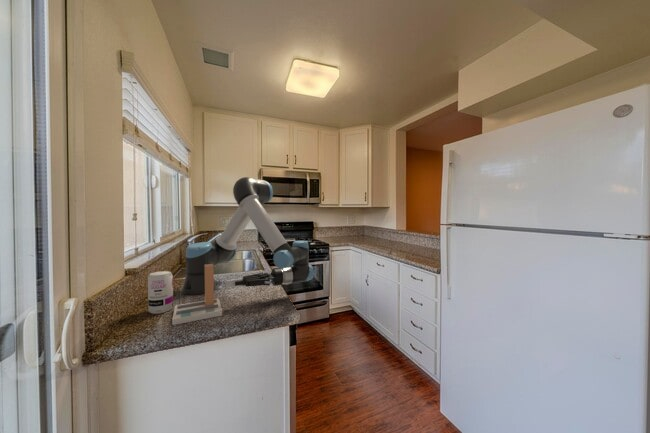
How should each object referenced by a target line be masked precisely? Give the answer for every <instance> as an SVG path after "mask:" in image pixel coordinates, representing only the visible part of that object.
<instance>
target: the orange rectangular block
mask: <svg viewBox="0 0 650 433" xmlns="http://www.w3.org/2000/svg"><path fill="white" fill-rule="evenodd" d="M214 266H215V265H214ZM214 266H213V264H207V265H205V293H204V301H205V306H210V305H214V299H215V289H214V280H215V277H214V275H215V274H214V273H215V272H214V269H215V268H214Z"/></svg>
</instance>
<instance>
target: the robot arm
mask: <svg viewBox="0 0 650 433" xmlns="http://www.w3.org/2000/svg"><path fill="white" fill-rule="evenodd" d="M232 193H233V194H232V195H233V197H234V200H235V202H236V203H237V205H238V207H237V209H236V211H235V212H234V214H233V215H232V217H231V218H230V220H229V222H228V224H227V225H226V227H225V228H224V231H223V232H222V234H221V235H218V236H216V237H215V240H214V241H213V243H212V242H210V241H202V242H195V243H191V244H190V245H188V246H186V248H185V278H184V281H183V283H182V287H181V293H182V294H184V295H188V296H189V295H190V296H194V295H202V294H205V265H207V264H213V266H218V265H221V264H222V265H223V264H225V263H229V262H230V261H232V260H234V258H236V255H237V254H238V251H237V250H238V249H237V247H238V245H237V243H238V240H239V239H240V237H241V235H242V233H243V232H244V231H245V229H246V227H247V226H248V224H249V222H252V223H253V225H254V227H255V228H256V229H257V231H258V232H259V234H260V235H261V237H262V238H263V240H264V241H265V244H267V246H268V248H269V249H270V250H271V252H272V253H273V257H272V258H273V259H272V260H273V263H274V265H275V266H276V267H277V268H272V269H271V272H270V273H269V272H264V273H263V272H259V273H254V274H249V275H245V276H242V277H241V278H234V279H226V280H225V287H226V289H228V288H233V287H241V286H245V287H258V286H270V285H271V284H272V286H274V287H276V286H281V285H286V286H288V285H290V284H295V283H302V282H308V281H310V280H313V278H314V275H315V272H314V267H313V265H311V264H309V258H310V257H309V254H310V253H309V250H310V248H309V247H310V246H309V242H308V241H307V240H294V241H293V242H292V247H291V246H290V244H289V243H288V241H287V240H286V239H285V237H284V235H283V234H282V233H281V231H280V230H279V228H278V227H277V225H276V224H275V222H274V221H273V219H272V218H271V216H270V215H269V213H268V212H267V211H266V209H265V208H264V204H267V203H269V202H270V201H271V200H272V199H273V196H274V190H273V187H272V184H270V183H269V182H268V181H267V180H264V179H258V178H254V177H253V178H252V177H249V176H245V177H241V178H238V179H237V180H236V182H235V183H234V185H233V187H232ZM216 288H217V283H216V280H215V279H214V290H215V289H216Z"/></svg>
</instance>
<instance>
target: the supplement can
mask: <svg viewBox="0 0 650 433" xmlns="http://www.w3.org/2000/svg"><path fill="white" fill-rule="evenodd" d="M173 280H174V276H173V274H172V272H171V271H170V270H160V271H155V272H151V273H149V276H148V278H147V303H148V304H147V306H148V308H147V311H148V313H150V314H153V315H159V314H163V313H167V312H168V311H171V310H172V308H174V281H173Z"/></svg>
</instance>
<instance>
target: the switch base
mask: <svg viewBox="0 0 650 433" xmlns="http://www.w3.org/2000/svg"><path fill="white" fill-rule="evenodd" d="M173 309H174V310H173V315H172V321H171V322H172V323H171V325H172V326H174V325H180V324H185V323H190V322H195V321H196V322H197V321H201V320H207V319H210V318H216V317H221V316H223V309H222V305H221V302H220V299H219V298H214V305H210V306H205V300H200V301H194V302H188V303H187V302H186V303H182V304H176V305H175V306H174V308H173Z"/></svg>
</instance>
